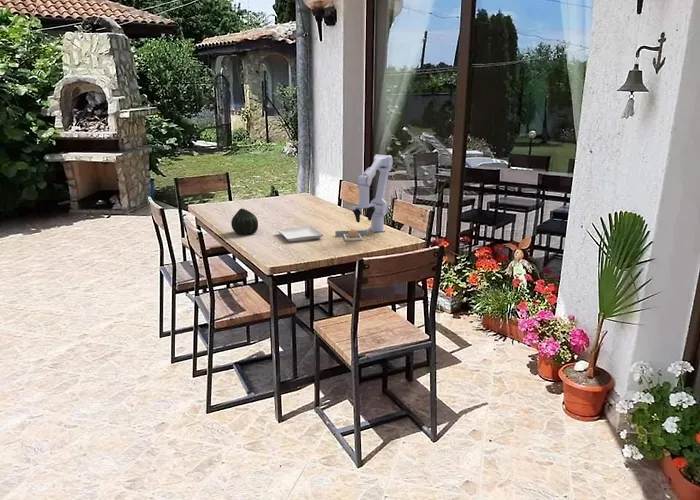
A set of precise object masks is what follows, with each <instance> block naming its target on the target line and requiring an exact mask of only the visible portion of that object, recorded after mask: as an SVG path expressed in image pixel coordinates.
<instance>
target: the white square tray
mask: <svg viewBox="0 0 700 500" xmlns="http://www.w3.org/2000/svg"><path fill="white" fill-rule="evenodd" d="M342 238H343V240H344V242H362V241H364V240H363V237H362V236H361V235H360V234H357V236H356V237H355V238H350V237H349V235H348V234H344V236H342Z"/></svg>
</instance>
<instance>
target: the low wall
mask: <svg viewBox="0 0 700 500" xmlns="http://www.w3.org/2000/svg"><path fill="white" fill-rule="evenodd" d="M355 230H356V229H355ZM349 231H350V230H335V237H343V236H344V234H348V232H349ZM356 231H357V234H360V235H361V237H362V236H363V237H364V236H365V237H366V236H368V230H367V229H366V230H365V229H364V230H363V229H362V230H356Z"/></svg>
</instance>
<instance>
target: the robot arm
mask: <svg viewBox="0 0 700 500" xmlns="http://www.w3.org/2000/svg"><path fill="white" fill-rule="evenodd" d="M393 163H394V159H393V157H392V155H390V154H389V155H387V154H377V153H376V154H375V155H374V157H373V162H372V164H371V166H370V167H367V168H366V169H365V170H364V172H363V173H362V174H359V176H358V177H357V180H356V184H357V189H358V204H357V205H351V210H352V212H353V214H354V217H355V221H356V223H360V220H361V219H360V218H361V213H362V211H361V210H363V209H366V210H367V220H368V221H370V226H369V229H370V231H371V232H373V233H374V232H377V233H379V232H386V229H385V222H384V221H385V216H386V214H387V213H388V202H387V201H386V200H385V195H386V190H387V184H388V178H389V173H390V171H392V168H393ZM377 170H378V171H379V176H378V181H377V182H378V183H377V187H376V193H375V197H374V198H373V199H372V200H371V201H370V187H371V185H372V182H373V178H374V177H375V176H376V174H377Z"/></svg>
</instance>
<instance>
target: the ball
mask: <svg viewBox="0 0 700 500" xmlns="http://www.w3.org/2000/svg"><path fill="white" fill-rule="evenodd" d="M348 231H349V232H348V235H349V237H350V238H355V237H356V236H357V231H356V229H354V228H353V229H350V230H348Z"/></svg>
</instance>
